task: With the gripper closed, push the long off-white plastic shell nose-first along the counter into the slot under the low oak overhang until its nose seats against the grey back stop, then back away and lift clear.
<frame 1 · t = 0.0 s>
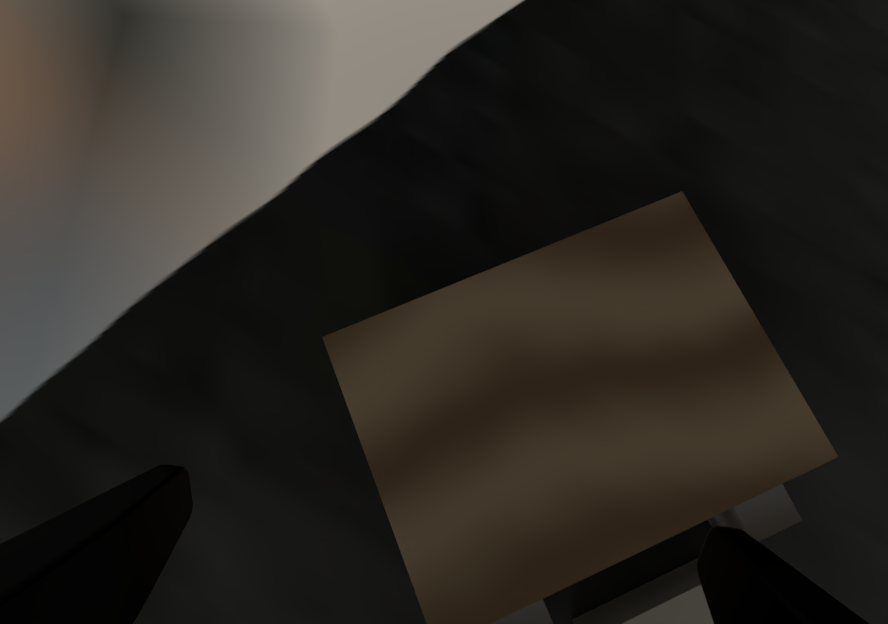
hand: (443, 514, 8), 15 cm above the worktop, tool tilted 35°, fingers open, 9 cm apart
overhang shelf: (581, 463, 22), on the worktop
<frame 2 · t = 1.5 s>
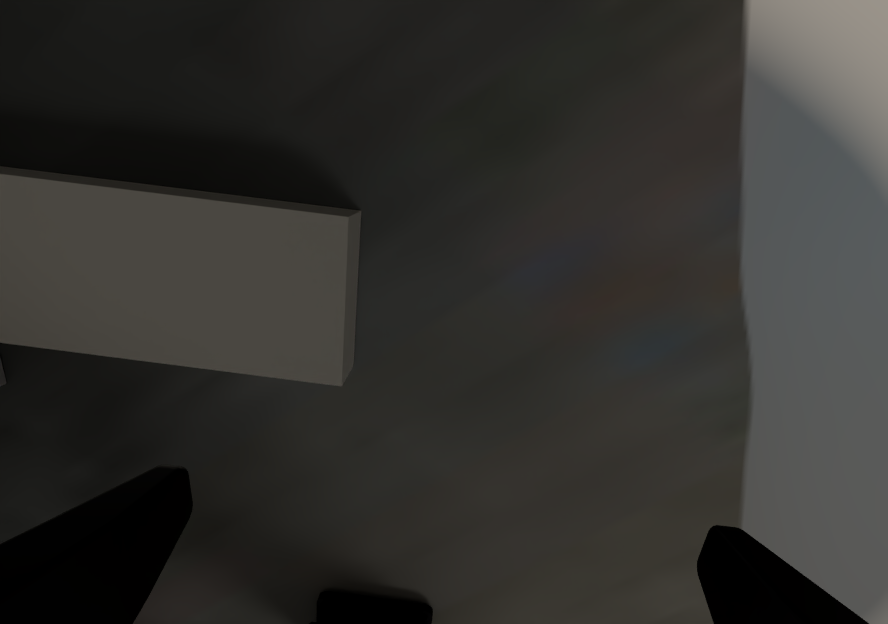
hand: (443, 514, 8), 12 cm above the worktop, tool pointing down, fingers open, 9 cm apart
shell: (174, 269, 19), on the worktop
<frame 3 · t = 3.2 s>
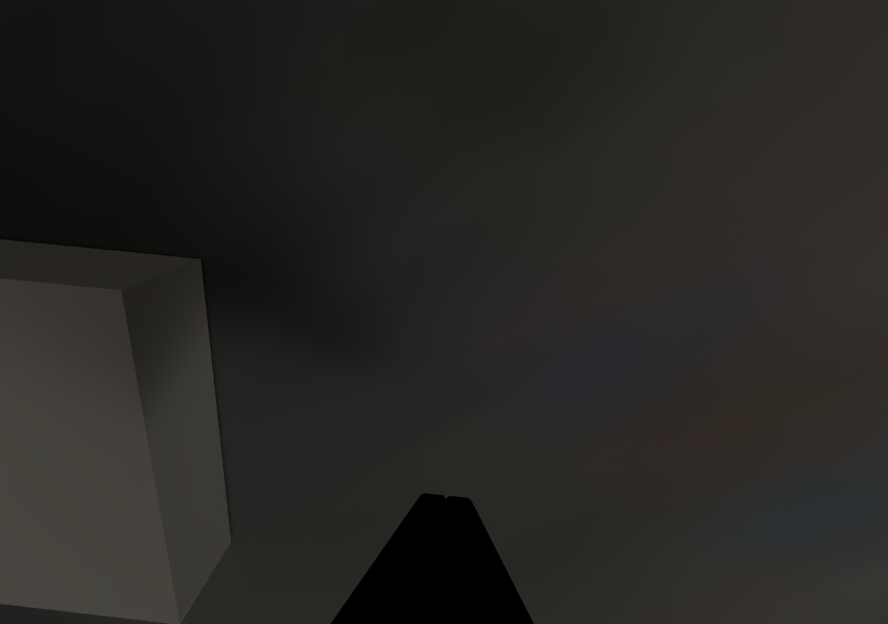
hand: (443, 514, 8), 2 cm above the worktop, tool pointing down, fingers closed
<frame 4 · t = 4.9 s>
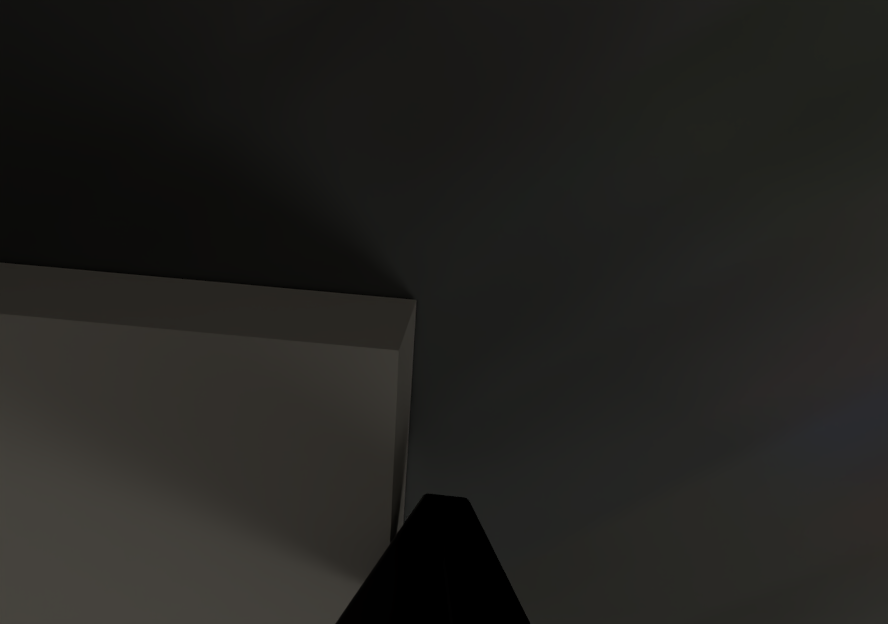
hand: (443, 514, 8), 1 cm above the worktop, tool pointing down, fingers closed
shell: (5, 430, 9), on the worktop, touching gripper
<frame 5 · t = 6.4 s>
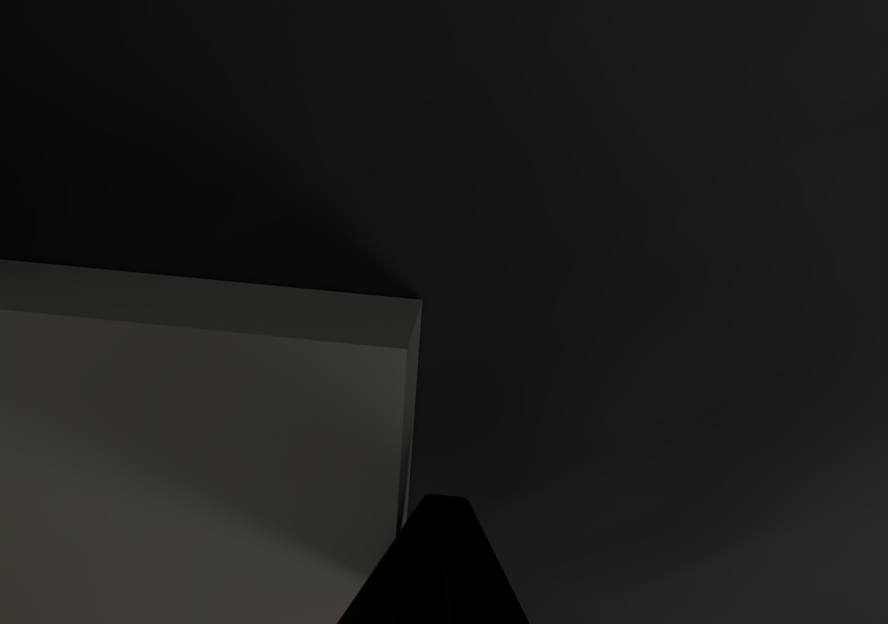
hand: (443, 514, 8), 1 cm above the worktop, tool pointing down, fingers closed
shell: (11, 427, 9), on the worktop, touching gripper
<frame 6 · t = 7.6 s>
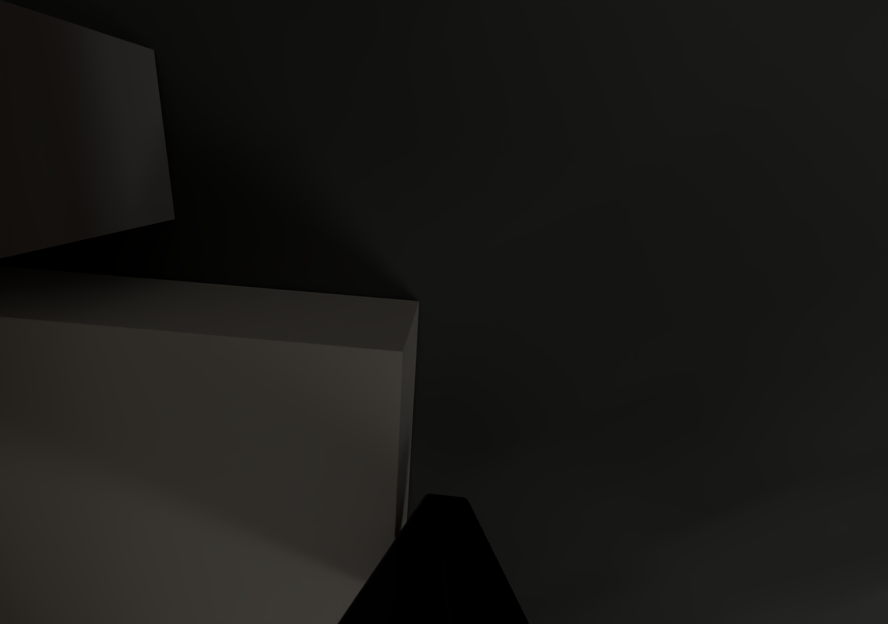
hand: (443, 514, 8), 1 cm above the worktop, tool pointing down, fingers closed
shell: (10, 433, 9), on the worktop, touching gripper
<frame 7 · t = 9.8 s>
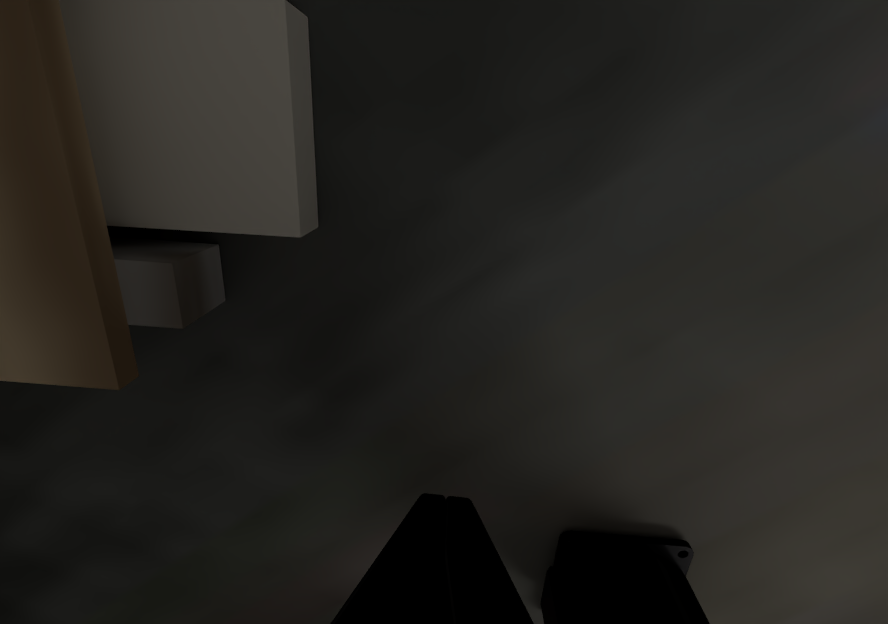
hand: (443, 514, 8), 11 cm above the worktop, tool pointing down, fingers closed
shell: (97, 118, 16), on the worktop
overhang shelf: (68, 113, 16), on the worktop
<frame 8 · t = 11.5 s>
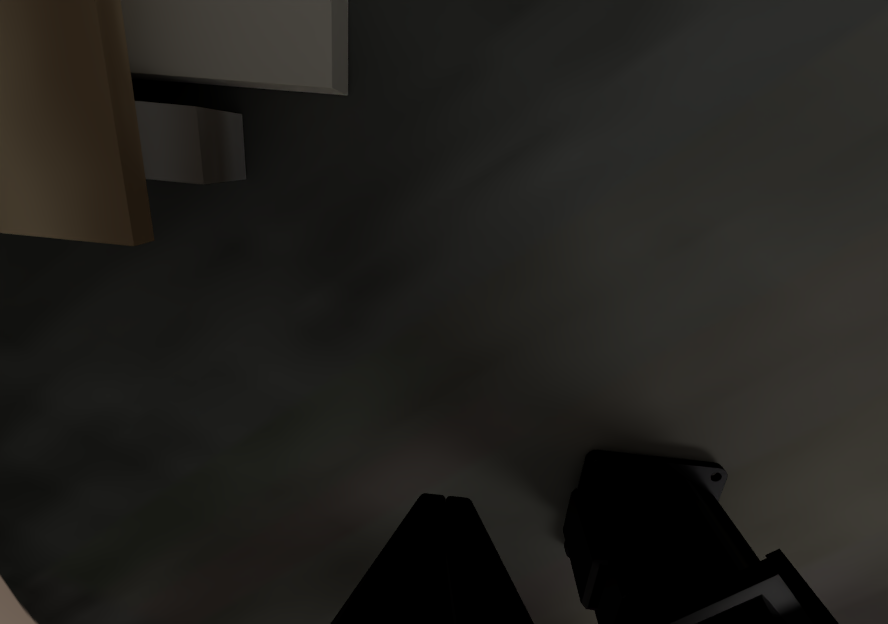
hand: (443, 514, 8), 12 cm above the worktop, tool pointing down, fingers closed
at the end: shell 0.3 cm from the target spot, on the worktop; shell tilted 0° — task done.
